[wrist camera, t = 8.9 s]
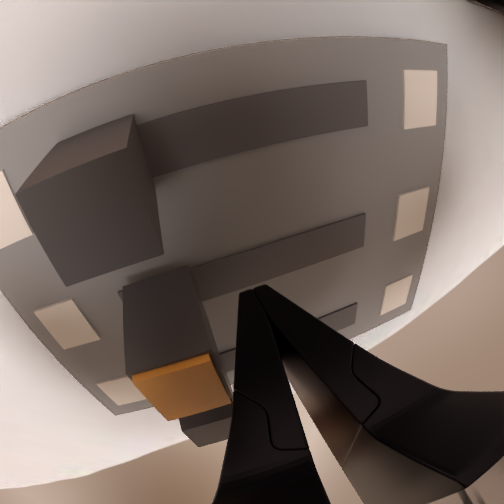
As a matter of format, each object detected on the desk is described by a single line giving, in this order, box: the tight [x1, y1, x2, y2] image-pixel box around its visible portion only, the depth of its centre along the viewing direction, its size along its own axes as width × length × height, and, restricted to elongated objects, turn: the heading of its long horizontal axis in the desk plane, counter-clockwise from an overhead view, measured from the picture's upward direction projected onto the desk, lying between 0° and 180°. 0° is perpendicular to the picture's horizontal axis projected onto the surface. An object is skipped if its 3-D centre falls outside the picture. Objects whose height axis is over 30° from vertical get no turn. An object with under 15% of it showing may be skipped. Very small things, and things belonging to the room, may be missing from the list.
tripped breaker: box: [123, 265, 233, 421], centre depth 8 cm, size 2×2×3 cm
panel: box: [0, 37, 447, 447], centre depth 10 cm, size 16×13×4 cm
